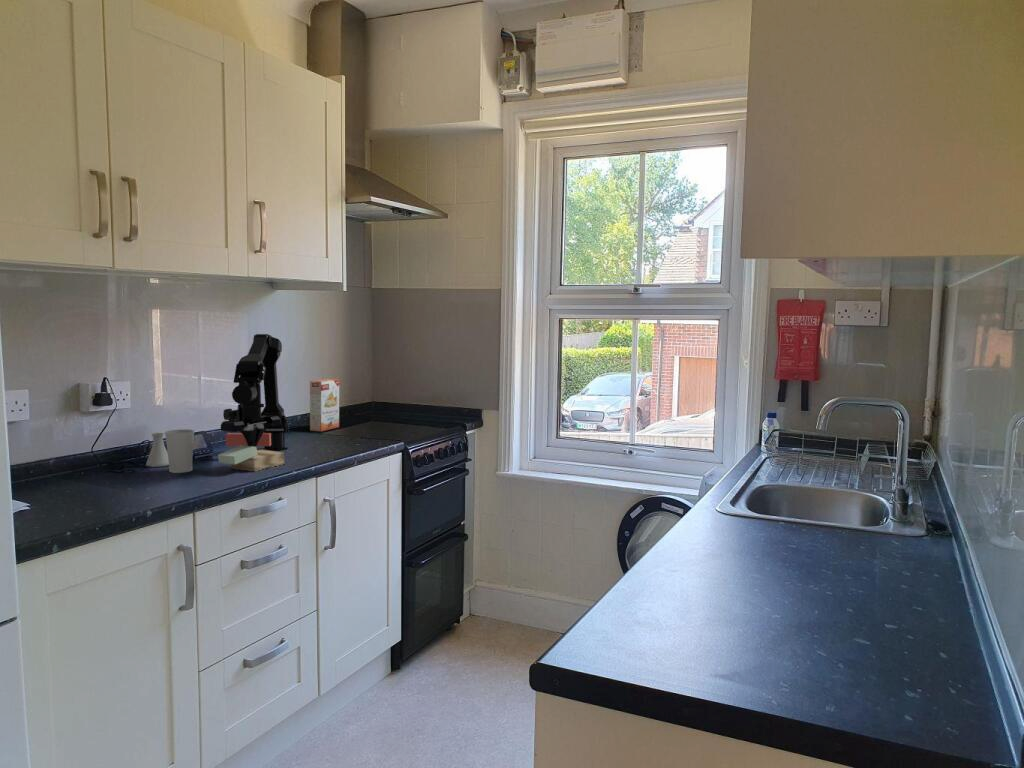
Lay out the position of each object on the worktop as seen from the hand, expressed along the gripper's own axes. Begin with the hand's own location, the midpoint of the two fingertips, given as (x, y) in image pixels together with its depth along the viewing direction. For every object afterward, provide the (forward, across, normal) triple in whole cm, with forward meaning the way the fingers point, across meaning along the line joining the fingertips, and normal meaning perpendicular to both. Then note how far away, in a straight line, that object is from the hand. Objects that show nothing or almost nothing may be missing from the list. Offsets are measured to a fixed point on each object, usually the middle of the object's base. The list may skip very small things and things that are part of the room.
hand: (252, 451), depth 217 cm
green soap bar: (+2, +5, 0) cm, 5 cm away
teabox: (+5, -2, 0) cm, 6 cm away
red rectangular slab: (+5, -10, -13) cm, 17 cm away
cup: (+5, +14, -15) cm, 21 cm away
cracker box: (+5, -71, -36) cm, 80 cm away
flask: (+5, +12, -28) cm, 31 cm away
